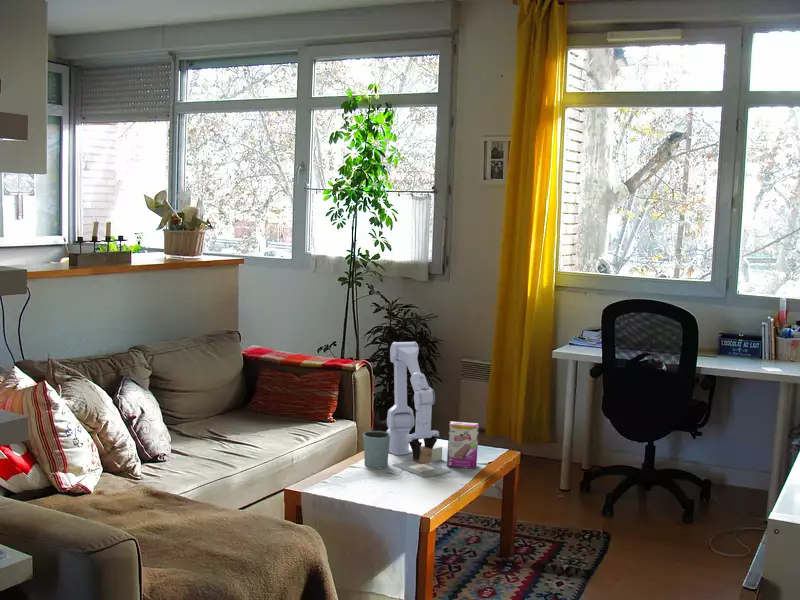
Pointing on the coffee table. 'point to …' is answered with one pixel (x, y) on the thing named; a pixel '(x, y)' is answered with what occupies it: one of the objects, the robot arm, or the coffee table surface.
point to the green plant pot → (376, 449)
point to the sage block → (436, 453)
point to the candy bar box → (462, 444)
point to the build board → (421, 469)
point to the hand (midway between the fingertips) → (421, 457)
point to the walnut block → (424, 455)
